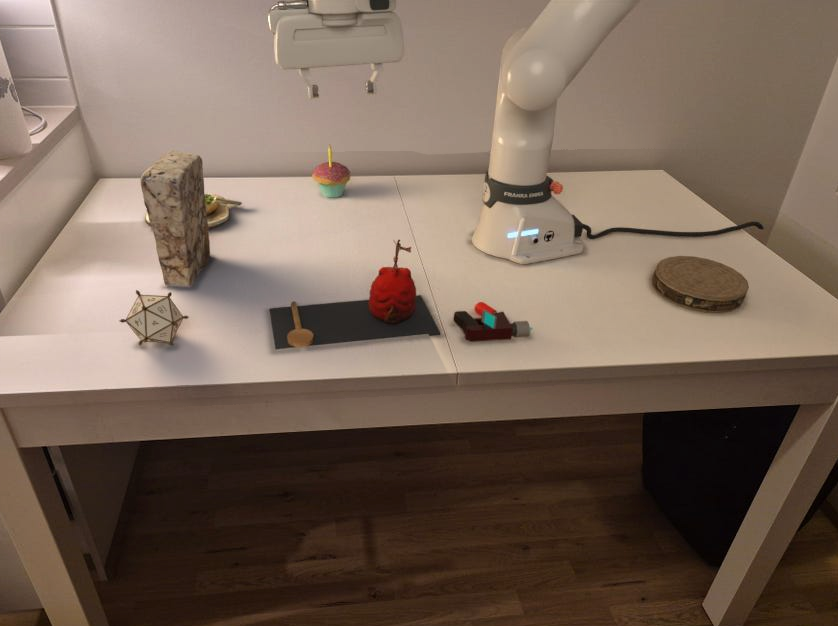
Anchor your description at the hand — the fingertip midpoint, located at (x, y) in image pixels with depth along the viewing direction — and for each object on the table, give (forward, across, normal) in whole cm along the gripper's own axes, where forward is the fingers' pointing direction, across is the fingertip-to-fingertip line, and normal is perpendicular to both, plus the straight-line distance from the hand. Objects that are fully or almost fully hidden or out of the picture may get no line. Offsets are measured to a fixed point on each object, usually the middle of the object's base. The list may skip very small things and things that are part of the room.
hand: (342, 95), depth 106 cm
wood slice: (+34, +60, -21) cm, 72 cm away
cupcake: (+29, +2, +35) cm, 45 cm away
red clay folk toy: (+31, +2, -20) cm, 37 cm away
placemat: (+31, -4, -20) cm, 37 cm away
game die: (+30, -34, -19) cm, 49 cm away
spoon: (+30, -13, -20) cm, 38 cm away
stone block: (+29, -30, +2) cm, 41 cm away
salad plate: (+27, -30, +28) cm, 49 cm away
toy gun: (+32, +18, -25) cm, 45 cm away
